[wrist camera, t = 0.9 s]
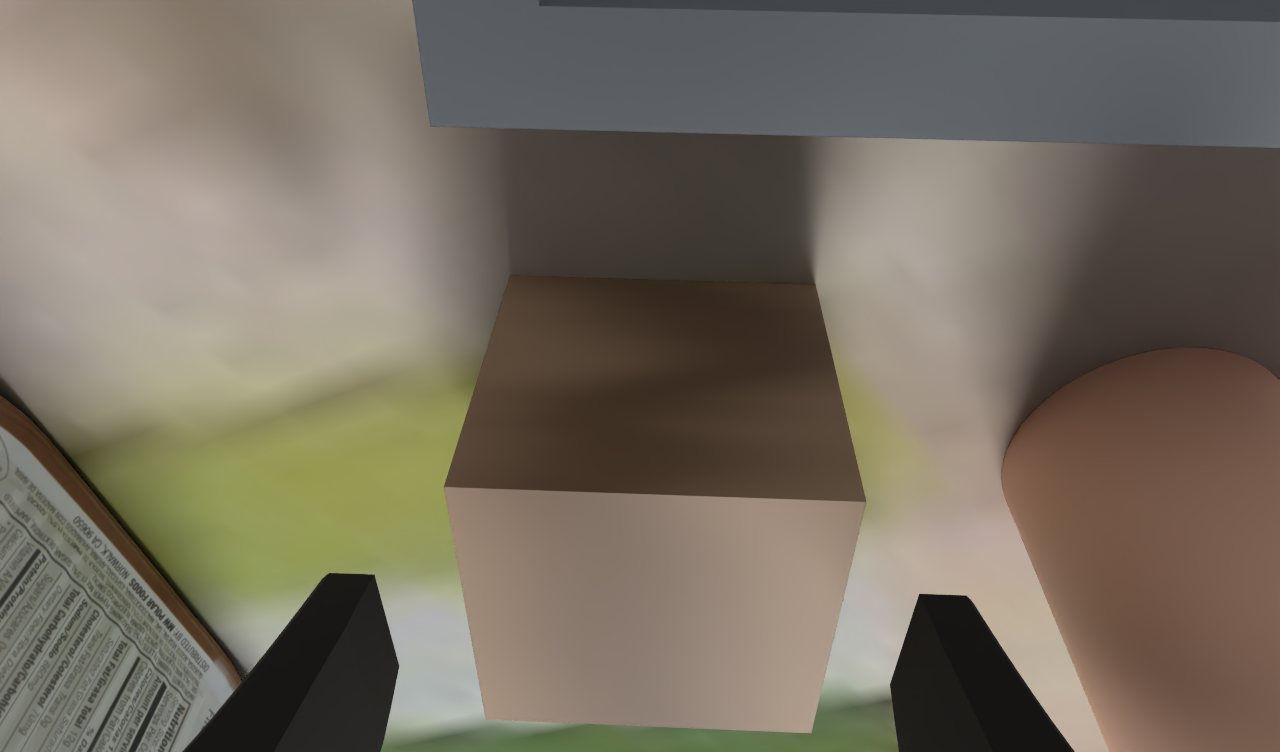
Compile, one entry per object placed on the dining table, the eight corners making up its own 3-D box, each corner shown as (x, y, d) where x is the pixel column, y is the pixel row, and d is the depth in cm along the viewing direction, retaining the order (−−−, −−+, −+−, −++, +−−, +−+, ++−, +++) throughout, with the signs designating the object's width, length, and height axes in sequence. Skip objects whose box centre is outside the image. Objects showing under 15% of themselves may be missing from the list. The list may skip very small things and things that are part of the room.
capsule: (1348, 352, 14) (1767, 751, 9) (1222, 552, 17) (1474, 943, 12) (1046, 342, 14) (1270, 730, 9) (973, 543, 18) (1106, 925, 12)
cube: (815, 281, 14) (866, 501, 10) (781, 498, 17) (810, 733, 13) (510, 273, 14) (443, 486, 10) (531, 489, 17) (485, 719, 13)
